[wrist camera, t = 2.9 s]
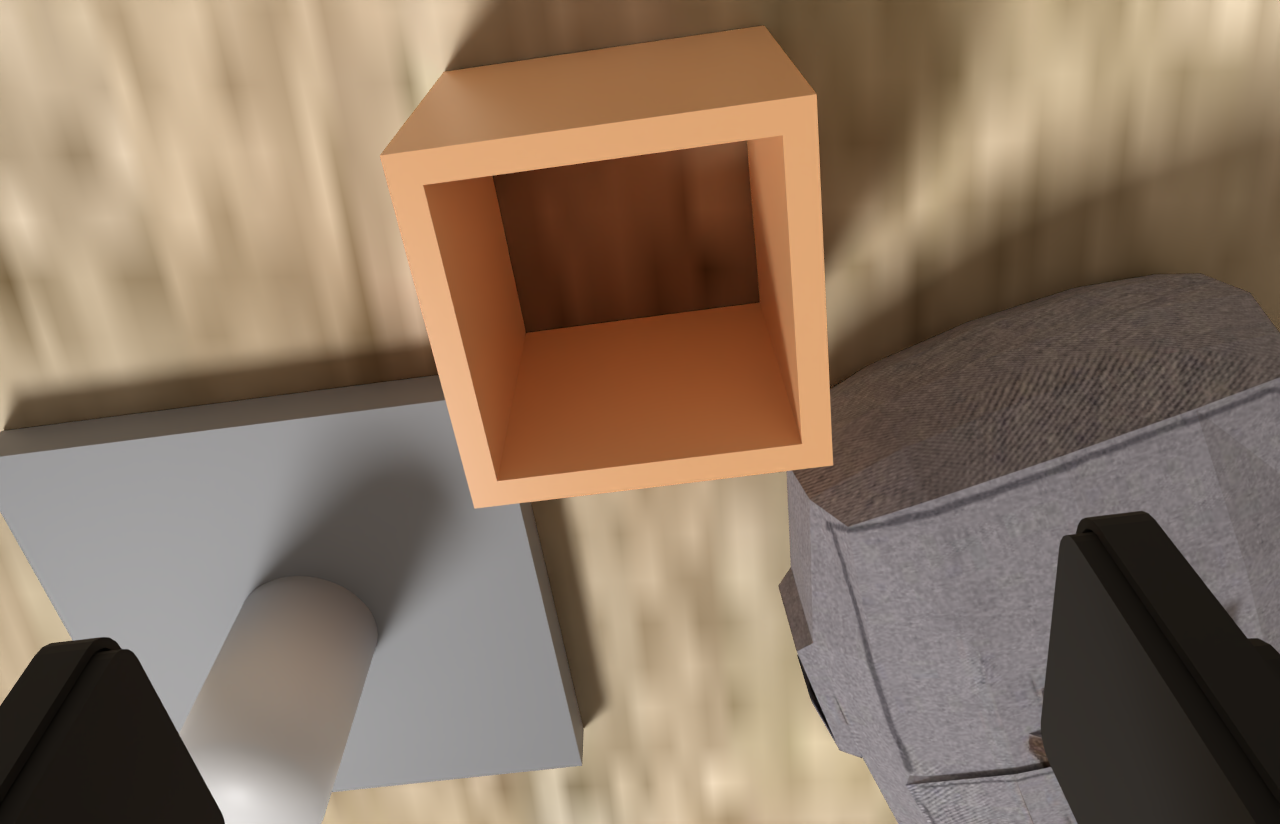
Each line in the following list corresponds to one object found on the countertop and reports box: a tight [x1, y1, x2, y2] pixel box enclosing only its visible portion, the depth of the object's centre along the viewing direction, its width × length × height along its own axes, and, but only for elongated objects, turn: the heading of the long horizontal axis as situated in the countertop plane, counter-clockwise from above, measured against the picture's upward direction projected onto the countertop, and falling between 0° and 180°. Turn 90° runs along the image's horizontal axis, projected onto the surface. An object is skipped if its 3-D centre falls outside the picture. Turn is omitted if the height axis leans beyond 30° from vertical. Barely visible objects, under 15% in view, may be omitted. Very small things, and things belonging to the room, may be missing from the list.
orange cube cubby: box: [380, 25, 833, 509], centre depth 21 cm, size 7×7×7 cm
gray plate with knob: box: [0, 375, 584, 824], centre depth 27 cm, size 14×14×8 cm
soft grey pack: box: [779, 274, 1280, 824], centre depth 27 cm, size 15×8×20 cm
